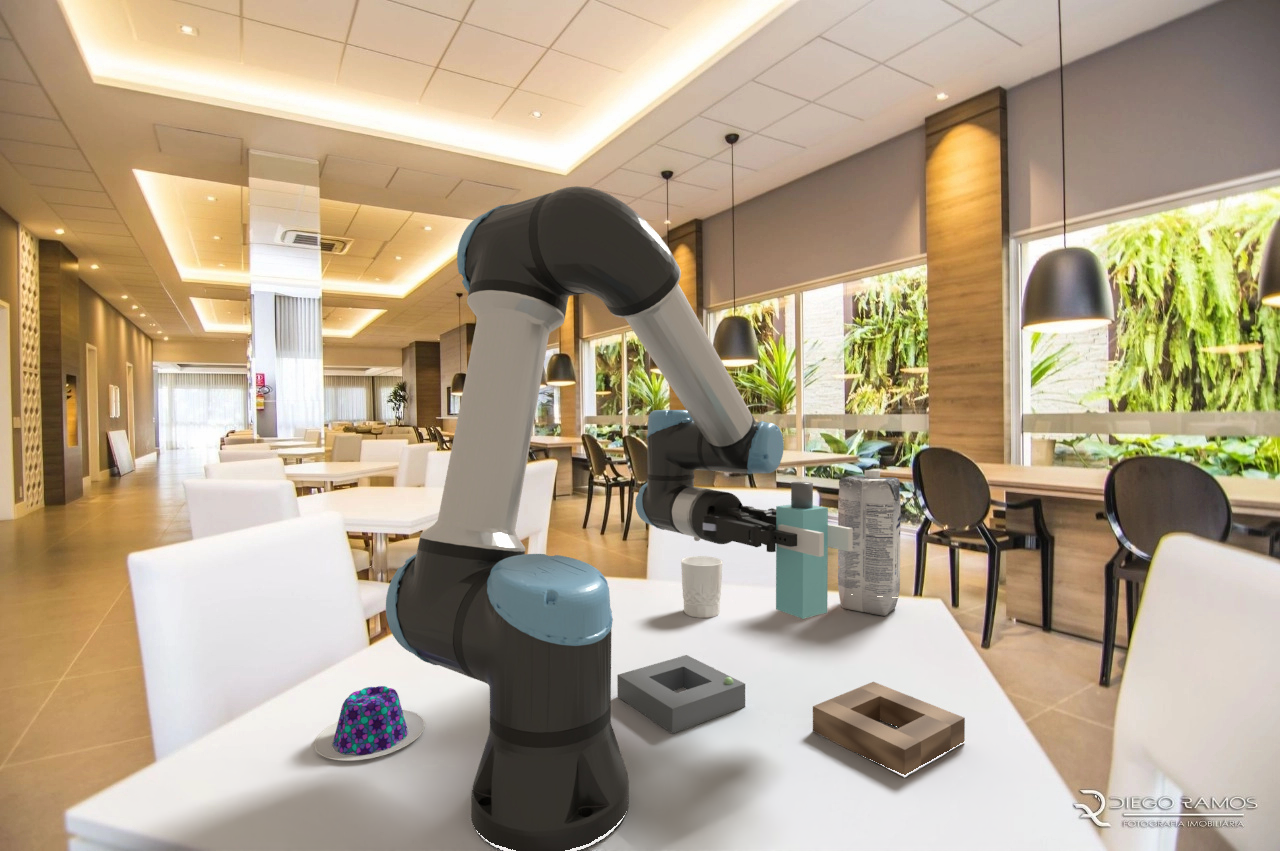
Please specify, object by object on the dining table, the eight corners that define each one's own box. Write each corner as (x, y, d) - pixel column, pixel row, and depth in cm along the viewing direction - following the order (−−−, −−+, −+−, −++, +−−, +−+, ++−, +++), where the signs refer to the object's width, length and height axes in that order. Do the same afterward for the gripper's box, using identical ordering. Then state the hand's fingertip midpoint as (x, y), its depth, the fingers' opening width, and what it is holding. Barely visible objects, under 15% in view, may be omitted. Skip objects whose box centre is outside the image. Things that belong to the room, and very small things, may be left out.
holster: (964, 743, 73) (964, 717, 73) (904, 778, 66) (904, 749, 66) (873, 704, 82) (873, 681, 82) (812, 731, 75) (812, 706, 75)
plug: (827, 612, 78) (828, 483, 78) (802, 618, 75) (803, 485, 75) (800, 603, 82) (800, 480, 81) (775, 609, 79) (776, 482, 79)
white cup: (721, 606, 124) (721, 556, 124) (723, 619, 116) (723, 566, 116) (681, 605, 125) (681, 555, 125) (680, 618, 117) (680, 565, 117)
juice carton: (889, 619, 116) (890, 473, 116) (834, 609, 123) (834, 470, 122) (902, 607, 123) (903, 470, 123) (849, 598, 130) (850, 467, 129)
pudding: (366, 709, 82) (366, 669, 82) (445, 723, 78) (445, 681, 78) (289, 756, 71) (288, 710, 71) (377, 775, 67) (376, 726, 67)
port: (745, 706, 82) (745, 678, 82) (672, 733, 75) (672, 702, 75) (686, 675, 92) (686, 650, 92) (617, 696, 85) (617, 669, 85)
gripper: (752, 533, 98) (882, 564, 79) (661, 547, 89) (783, 585, 69) (752, 485, 98) (883, 504, 78) (661, 494, 88) (783, 517, 69)
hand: (836, 542), depth 74 cm, fingers closed on plug, 4 cm apart
